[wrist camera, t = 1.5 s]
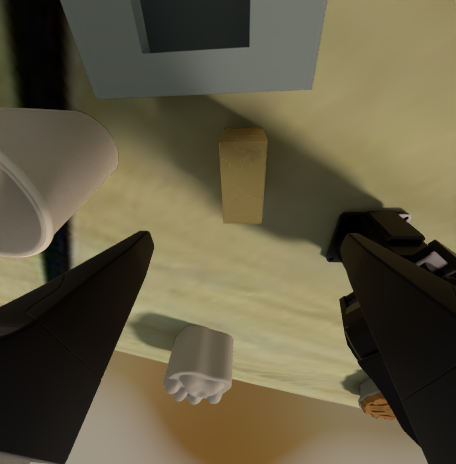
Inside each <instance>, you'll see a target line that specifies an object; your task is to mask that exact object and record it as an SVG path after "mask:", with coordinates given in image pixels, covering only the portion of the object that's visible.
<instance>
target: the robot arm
mask: <svg viewBox="0 0 456 464" xmlns="http://www.w3.org/2000/svg"><path fill="white" fill-rule="evenodd" d="M345 217H347V218H346V219H344V218H345ZM404 217H405V218H404ZM403 218H404V219H403ZM411 218H412V216H411V215H410V214H408V213H406V212H395V211H368V212H345V213H342V214H341V215H340V217H339V220H338V223H337V226H336V229H335V232H334V234H333V237H332V240H331V243H330V246H329V249H328V252H327V255H326V259H327V261H328V262H342V264H343V266H344V267H345V269H346V272H347V275H348V278H349V281H350V284H351V286H352V289H353V291H354V292H352V293H350V294H349V295H347V296H344V297H342V298H340V299H339V300H340V307H341V313H342V320H343V326H344V332H345V337H346V341H347V345H348V347H349V348H350V349H351V351H352V353H353V354H354V356H355V357H356V359H357V360H358V364H359V365H360V367H361V368H362V369H363V370H364V371H365V372H366V373H367V375H368V376H369V377H370V378H371V379H372V381H373V382H374V383H375V385H376V386H377V388H378V389H379V390H380V392H381V393H382V395H383V396H384V398H385V400H386V401H387V403H388V405H389V406H390V408H391V410H392V412H393V413H394V415H395V417H396V418H397V420H398V422H399V424H400V425H401V427H402V428H403V430H404V431H405V432H406V433H407V434H408V435H409V436H410V437H411V438H412V439H413V440H414V441H415V442H416V443H417V444H418V445H419V446H420V447H421V448H422V451H423V453H424V455H425V457H426V460H427V462H428V464H456V253H454V252H453V251H451V250H450V249H448V248H447V247H445V246H444V245H443V244H441V243H440V242H438V241H437V240H433V241H432V242H430V243H429V244H428V245H427V244H426V243H425V242H424V240H425V237H424V236H423V235H422V234H421V233H420V232H419V231H418V230H416V229H415V228H414V227H413V226H412V225H410V224H409V222H410V220H411ZM153 250H154V243H153V240H152V237H151V234H150V232H149V231H139V232H137V233H135V234H133V235H132V236H130V237H128V238H126V239H125V240H123V241H121V242H119V243H117V244H116V245H114V246H112V247H110V248H109V249H107V250H105V251H103V252H101V253H100V254H98V255H96V256H94V257H92V258H91V259H89V260H87V261H85V262H84V263H82V264H80V265H78V266H76V267H75V268H73V269H71V270H69V271H68V272H66V273H64V274H62V275H60V276H59V277H57V278H55V279H53V280H51V281H50V282H48V283H46V284H44V285H42V286H40V287H39V288H37V289H35V290H33V291H31V292H29V293H27V294H25V295H23V296H21V297H19V298H17V299H15V300H13V301H11V302H9V303H7V304H5V305H3V306H1V307H0V464H29V463H30V462H38V463H47V464H65V462H66V460H67V459H68V456H69V454H70V452H71V450H72V447H73V445H74V443H75V440H76V438H77V436H78V433H79V431H80V429H81V426H82V424H83V422H84V419H85V417H86V414H87V412H88V410H89V408H90V405H91V403H92V401H93V398H94V396H95V394H96V391H97V389H98V387H99V384H100V382H101V378H102V377H103V375H104V372H105V370H106V367H107V365H108V363H109V360H110V358H111V356H112V354H113V351H114V349H115V347H116V344H117V342H118V340H119V337H120V335H121V333H122V330H123V328H124V326H125V323H126V321H127V319H128V316H129V314H130V312H131V309H132V307H133V305H134V302H135V300H136V298H137V295H138V293H139V291H140V288H141V286H142V284H143V281H144V279H145V276H146V274H147V270H148V267H149V264H150V260H151V257H152V254H153ZM331 257H332V258H331Z"/></svg>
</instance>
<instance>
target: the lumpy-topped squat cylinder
mask: <svg viewBox="0 0 456 464" xmlns="http://www.w3.org/2000/svg"><path fill="white" fill-rule="evenodd" d="M232 363H233V338H232V336H230V335H228V334H226V333H222V332H218V331H214V330H211V329H209V328H207V327H204V326H200V325H192V326H188V327H186V328H184V329H183V330H182V331H181V332H180V333H179V334H178V335H177V337H176V338H175V341H174V345H173V349H172V352H171V356H170V360H169V363H168V367H167V370H166V374H165V378H164V382H163V383H164V386H165V390H166V392H167V393H169V394H173V395H174V399H175V400H176V401H181V400H183V399H184V398H187V400H188V401H189V403H191V404H193V405H195V404H198V403H199V402H200V401H201V400H202V398H207V399H208V401H209V402H210V403H212V404H216V403H218V401H220V399H221V397H222V394H223V393H224V392H225V391H227V390H228V389H230V388H231V385H232Z"/></svg>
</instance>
